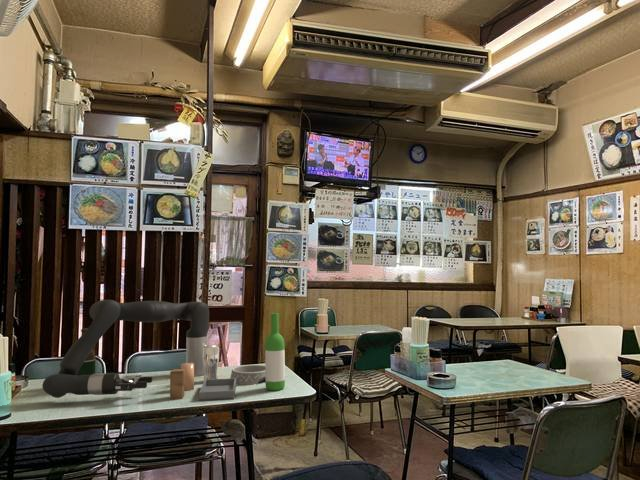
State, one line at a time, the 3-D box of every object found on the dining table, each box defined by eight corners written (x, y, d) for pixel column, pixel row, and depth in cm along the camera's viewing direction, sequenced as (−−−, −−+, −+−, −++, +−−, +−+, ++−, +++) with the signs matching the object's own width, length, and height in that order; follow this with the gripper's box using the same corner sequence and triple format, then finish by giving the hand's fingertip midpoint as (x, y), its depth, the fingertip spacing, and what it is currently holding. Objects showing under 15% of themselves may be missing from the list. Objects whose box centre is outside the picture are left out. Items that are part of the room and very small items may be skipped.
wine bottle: (277, 392, 180) (277, 314, 182) (261, 389, 184) (261, 313, 186) (288, 387, 187) (287, 312, 189) (272, 385, 191) (272, 312, 193)
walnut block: (172, 396, 176) (172, 369, 177) (184, 395, 177) (184, 369, 178) (170, 399, 172) (170, 372, 172) (182, 398, 172) (182, 371, 173)
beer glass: (214, 383, 195) (214, 347, 196) (199, 383, 197) (199, 347, 198) (221, 379, 202) (221, 345, 203) (206, 379, 203) (206, 344, 205)
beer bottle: (69, 387, 192) (71, 329, 194) (85, 383, 199) (86, 327, 201) (84, 389, 189) (85, 329, 191) (99, 384, 197) (100, 327, 198)
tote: (205, 387, 190) (205, 379, 190) (236, 385, 191) (236, 378, 192) (198, 400, 169) (198, 392, 169) (233, 398, 171) (233, 390, 171)
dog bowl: (279, 379, 202) (279, 367, 202) (246, 388, 188) (246, 374, 189) (254, 374, 213) (254, 362, 214) (221, 381, 200) (221, 369, 200)
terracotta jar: (182, 388, 189) (182, 363, 189) (194, 387, 189) (194, 362, 190) (180, 391, 184) (180, 365, 184) (193, 390, 184) (193, 365, 185)
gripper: (97, 377, 164) (145, 376, 167) (110, 369, 178) (153, 368, 181) (97, 399, 164) (144, 397, 166) (109, 389, 178) (153, 387, 180)
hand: (149, 382), depth 173 cm, fingers open, 8 cm apart
